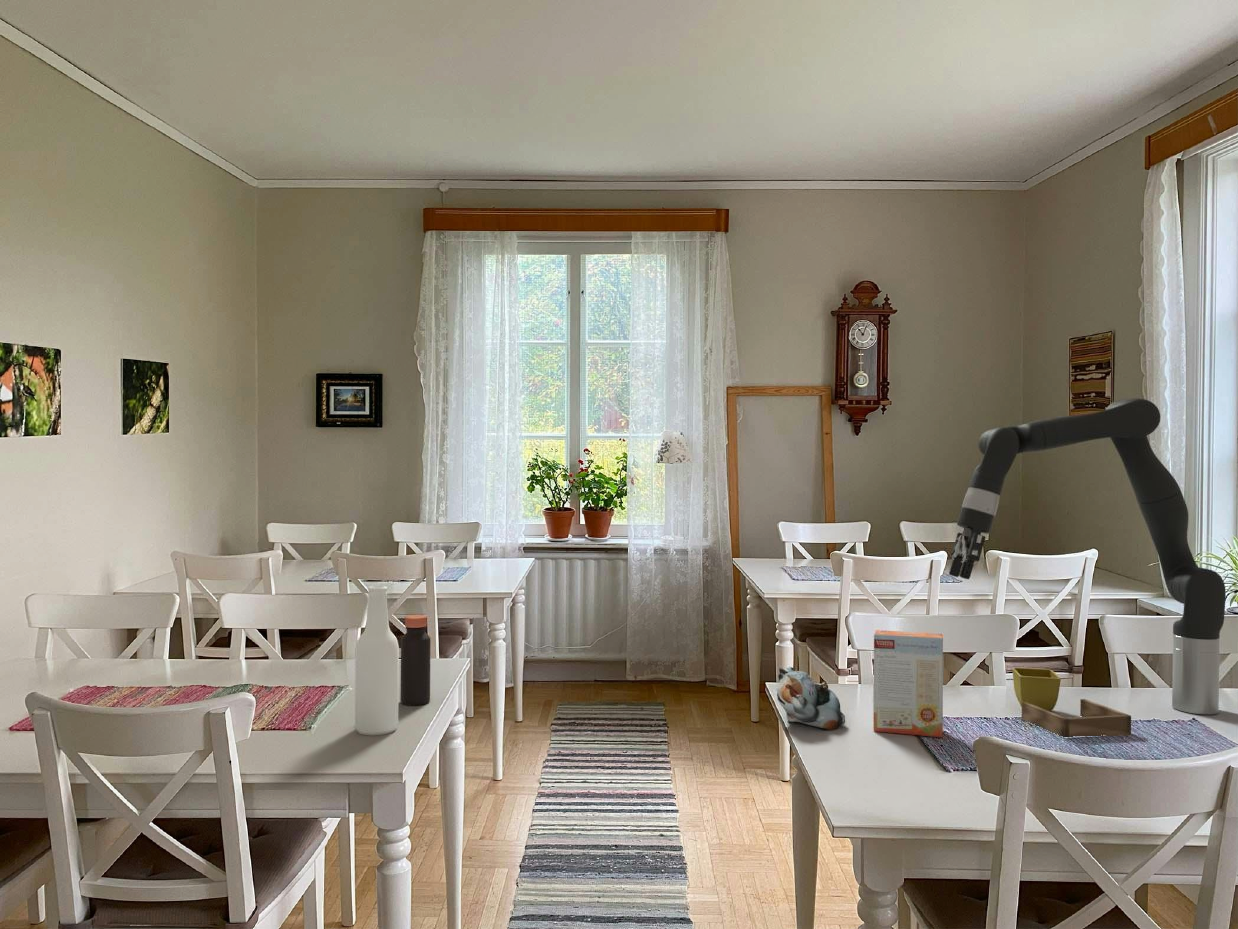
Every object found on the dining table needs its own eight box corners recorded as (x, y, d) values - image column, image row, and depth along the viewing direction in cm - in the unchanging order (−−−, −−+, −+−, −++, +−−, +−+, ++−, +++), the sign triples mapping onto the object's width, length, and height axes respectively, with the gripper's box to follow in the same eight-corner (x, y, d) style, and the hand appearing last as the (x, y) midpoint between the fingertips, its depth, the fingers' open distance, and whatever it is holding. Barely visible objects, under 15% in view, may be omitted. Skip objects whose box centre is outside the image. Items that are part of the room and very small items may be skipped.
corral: (1021, 720, 205) (1021, 702, 205) (1084, 716, 209) (1084, 699, 209) (1064, 739, 192) (1065, 719, 192) (1131, 734, 195) (1131, 715, 195)
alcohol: (384, 721, 200) (385, 582, 200) (406, 730, 193) (407, 587, 193) (346, 729, 194) (348, 586, 193) (368, 738, 187) (369, 591, 187)
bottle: (426, 706, 212) (427, 619, 212) (397, 706, 212) (397, 619, 212) (432, 698, 219) (433, 614, 219) (404, 698, 219) (405, 614, 219)
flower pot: (1061, 718, 208) (1061, 678, 208) (1019, 715, 209) (1020, 675, 209) (1050, 707, 216) (1051, 669, 216) (1011, 705, 218) (1011, 667, 218)
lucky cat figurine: (850, 732, 195) (826, 678, 191) (796, 751, 197) (771, 697, 193) (838, 694, 209) (816, 643, 206) (788, 712, 211) (765, 662, 208)
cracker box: (942, 731, 197) (943, 632, 196) (942, 739, 191) (943, 637, 191) (874, 724, 201) (875, 628, 201) (872, 732, 195) (873, 633, 195)
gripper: (1004, 515, 207) (984, 584, 207) (984, 515, 222) (965, 580, 221) (971, 505, 208) (951, 574, 208) (954, 506, 222) (934, 570, 222)
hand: (958, 577), depth 214 cm, fingers open, 8 cm apart
